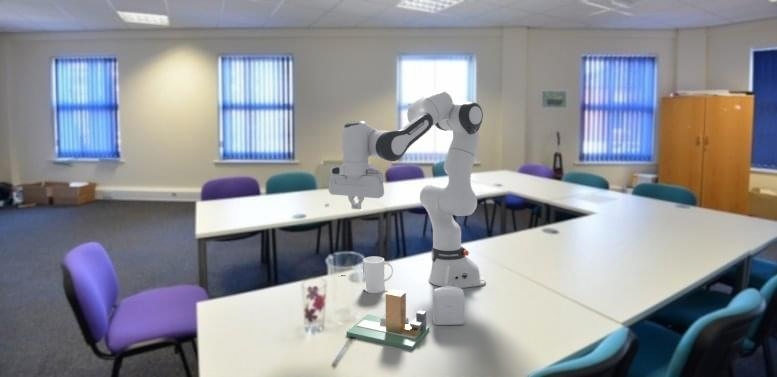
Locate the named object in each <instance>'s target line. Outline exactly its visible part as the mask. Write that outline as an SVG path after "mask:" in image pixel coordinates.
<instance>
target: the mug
mask: <svg viewBox="0 0 777 377" xmlns="http://www.w3.org/2000/svg"><path fill="white" fill-rule="evenodd" d="M362 263H363V273H364V274H363V273H362V274H363V278H364V277H365V279H366V289H367V292H368V294H379V293H383V292H384V291H385V290H386V284H385V282H387V281H389V280H390V279H391V278H392V276H393V272H394V268H393V266H392V264H391V263H390V262H388V261H385V258H384V257H381V256H373V255H372V256H367V257H365V258H363V260H362ZM385 265H388V266H389V267H390V269H391V273H390V275H389V276H388V277H387V278H385ZM367 292H366V293H367Z"/></svg>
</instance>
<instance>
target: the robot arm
mask: <svg viewBox="0 0 777 377" xmlns="http://www.w3.org/2000/svg"><path fill="white" fill-rule="evenodd" d="M406 114H407V120H408V123H407V124H406V125H405V126H403V127H402V128H401V129H398V130H380V129H379V130H378V129H376V128H374V127H372V126H370V125H369V124H368V123H366V122H365V121H364V120H356V121H355V120H354V121H351V122H350V121H349V122H347V123H345V125H344V126H343V128H342V133H341V134H342V135H341V149H342V153H343V157H342V160H341V161H342V164H339V165H337V166H334V167H331V168H329V174H330V175H329V178H328V192H329V194H330V195H333V196H334V195H335V196H343V197H344V196H345V197H347V196H348V202H349V203H350V204H351V209H352V210H361V209H362V204H363V202H364V200H365V198H372V199H380V198H382V197H384V195H385V187H384V174H383V173H382V172H381V171H379V170H375V169H373V170H372V169H369V158H375V159H381V160H385V161H389V162H397V161H399V160H400V159H401V158H403V156H404V155H405V154H406V152H407V151H408V149H409V148H410V147H411V146H412V145H413V144H414V143H415V142H417V141H418V140H419V139H420V138H421V137H423V136H424V135H425V134H427V133H428V131H430V130H431V128H432V127H434V126H435V127H436V128H437V129H439V130H442V131H450V132H452V139H451V142H450V146H449V147H448V152H447V155H446V156H445V161H444V164H443V170H444V172H445V174H446V175H447V176H448V184H447V185H446V184H441V183H433V184H432V183H431V184H426V185H424V187H422V189H421V191H420V194H419V201H420V204H421V206H423V208H425V210H426V212H427V214H428V217H429V219H430V223H431V227H432V242H433V243H432V244H433V245H432V247H431V261H432V263H431V268H430V269H431V270H430V275H429V278H428V281H429V283H431V284H433V285H434V286H439V287H447V286H450V287H458V288H461V289H464V288H472V287H482V286H485V285H486V279H485V277H484V275H482V274H481V273H480V269H479V267H478V265H477V264H476V263H475V261H473V260H472V259H471V258H469V257H468V256H469V254H470V252H469V250H467V249H466V248H465V247H464V246H463V245H462V228H461V226H460V225H459V224H458V222H456V220H455V219H454V216H457V217H459V216H460V217H463V216H464V217H466V216H471V215H472V214H473V213H474V212H475V210H476V209H477V206H478V198H477V195H476V194H475V191H474V190H473V189H472V188H473V187H472V185H471V184H472V183H471V178H472V176H471V175H472V171H473V168H474V167H473V166H474V164H475V160H476V156H477V153H478V149H479V143H480V133H479V132H478V131H479V130H480V128H481V125H482V123H483V118H484V114H483V110H482V107H481V105H480V104H479V103H477V102H474V101H455V102H453V99H452V96H451V95H450V94H449V93H448V92H447V91H444V90H436V91H433V92H431V93H428V94H426V95H424V96H422V97H421V98H419V99H418V100H416V101H415V102H413V103H412V104H411V105H410V106H409V107H408V108H407V113H406ZM355 197H357V200H358V202H357V203H356V201H355V199H356V198H355Z"/></svg>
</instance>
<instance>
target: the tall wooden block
mask: <svg viewBox="0 0 777 377" xmlns="http://www.w3.org/2000/svg"><path fill="white" fill-rule="evenodd" d="M385 313H386V331H390V332H395V333H399V334H401V333H403V334H408V335H413V336H417V335H418V334H419V333H420V328H419V329H418V328H414V327H410V325H407V324H406V317H407V292H406V291H404V290H397V289H391V288H390V290H388V291H387V292H385Z"/></svg>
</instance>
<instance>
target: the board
mask: <svg viewBox="0 0 777 377" xmlns="http://www.w3.org/2000/svg"><path fill="white" fill-rule="evenodd" d="M406 324H407V325H410V327H414V328H418V329H419V328H420V333H419V334H418V335H417V336H413V335H408V334H403V333H401V334H399V333H395V332H390V331H386V312H385V314H383V315H382V316H378V315H373V314H369V313H368V314H366V315H365V316H364V317H363V318H362V319H360V320H359V321H358V322H356V324H354V325H353V326H352V327H351V328H349V329H348V330H346V336H347V337H353V338H357V339H361V340H366V341H369V342H370V341H371V342H374V343H379V344H384V345H389V346H392V347H396V348H400V349H401V348H402V349H407V350H411V351H413V350H414V349H415V348H416V346H417V345H418V344H419V343H420V342H421V341H422V339H423V338H424V337H425V335H427V334H428V332H429V331H430V326H428V325H427V311H426V310H422V309H421V310H420V309H419V310H417V312H416V317H415V318H414V319H413V320H412V321H411V322H410V321H409V316H406Z"/></svg>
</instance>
